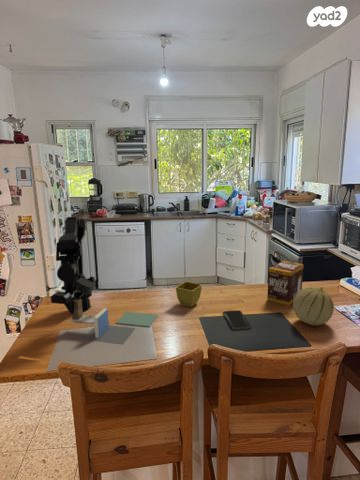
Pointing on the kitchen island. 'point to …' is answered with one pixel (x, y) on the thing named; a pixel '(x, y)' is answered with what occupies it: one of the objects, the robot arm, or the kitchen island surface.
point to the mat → (111, 335)
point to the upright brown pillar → (81, 314)
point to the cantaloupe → (313, 305)
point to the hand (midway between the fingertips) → (74, 311)
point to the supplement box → (284, 282)
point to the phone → (236, 320)
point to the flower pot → (188, 293)
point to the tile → (101, 323)
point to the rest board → (137, 319)
